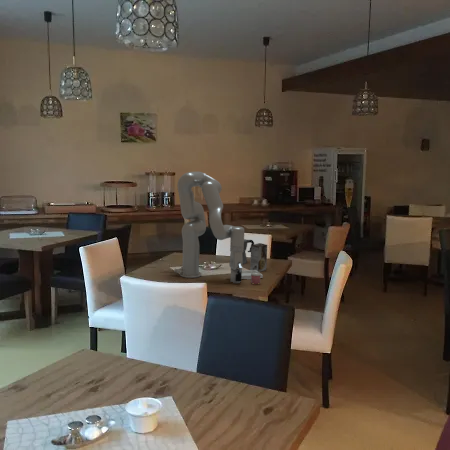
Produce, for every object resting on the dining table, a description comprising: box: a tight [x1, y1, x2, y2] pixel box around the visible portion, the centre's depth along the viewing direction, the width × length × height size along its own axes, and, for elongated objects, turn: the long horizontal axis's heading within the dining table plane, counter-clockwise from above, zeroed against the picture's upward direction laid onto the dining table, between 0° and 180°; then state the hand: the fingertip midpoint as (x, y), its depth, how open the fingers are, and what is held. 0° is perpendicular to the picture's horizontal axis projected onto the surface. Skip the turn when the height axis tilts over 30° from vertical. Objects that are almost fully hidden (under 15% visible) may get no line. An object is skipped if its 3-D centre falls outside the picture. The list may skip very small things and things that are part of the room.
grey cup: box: [230, 268, 242, 284], centre depth 286 cm, size 6×6×7 cm
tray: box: [241, 269, 264, 280], centre depth 299 cm, size 13×12×2 cm
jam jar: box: [250, 272, 262, 284], centre depth 284 cm, size 5×5×6 cm
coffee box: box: [249, 242, 268, 273], centre depth 314 cm, size 9×6×16 cm
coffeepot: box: [242, 238, 255, 265], centre depth 333 cm, size 15×9×18 cm, turn 82°
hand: (235, 278), depth 286 cm, fingers open, 9 cm apart
